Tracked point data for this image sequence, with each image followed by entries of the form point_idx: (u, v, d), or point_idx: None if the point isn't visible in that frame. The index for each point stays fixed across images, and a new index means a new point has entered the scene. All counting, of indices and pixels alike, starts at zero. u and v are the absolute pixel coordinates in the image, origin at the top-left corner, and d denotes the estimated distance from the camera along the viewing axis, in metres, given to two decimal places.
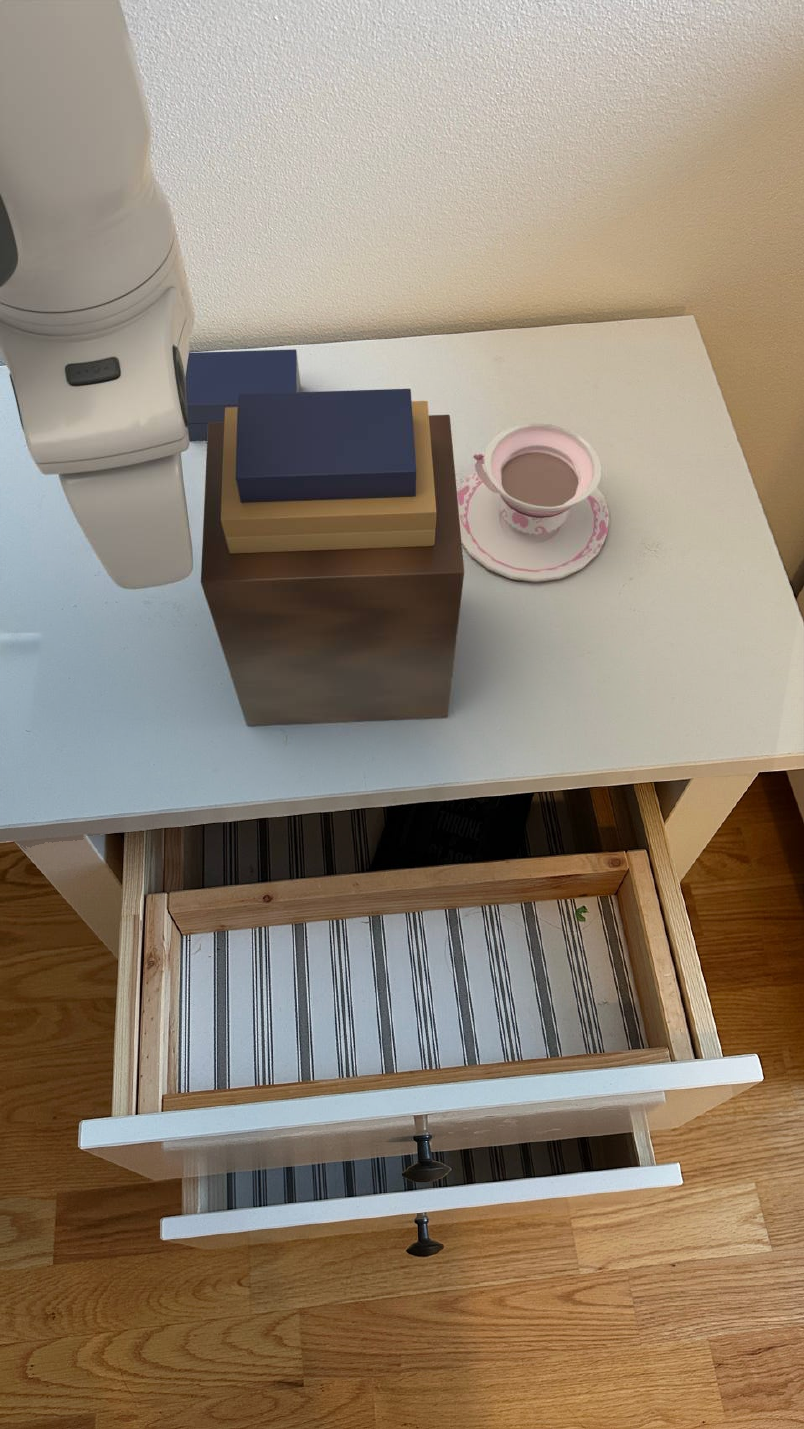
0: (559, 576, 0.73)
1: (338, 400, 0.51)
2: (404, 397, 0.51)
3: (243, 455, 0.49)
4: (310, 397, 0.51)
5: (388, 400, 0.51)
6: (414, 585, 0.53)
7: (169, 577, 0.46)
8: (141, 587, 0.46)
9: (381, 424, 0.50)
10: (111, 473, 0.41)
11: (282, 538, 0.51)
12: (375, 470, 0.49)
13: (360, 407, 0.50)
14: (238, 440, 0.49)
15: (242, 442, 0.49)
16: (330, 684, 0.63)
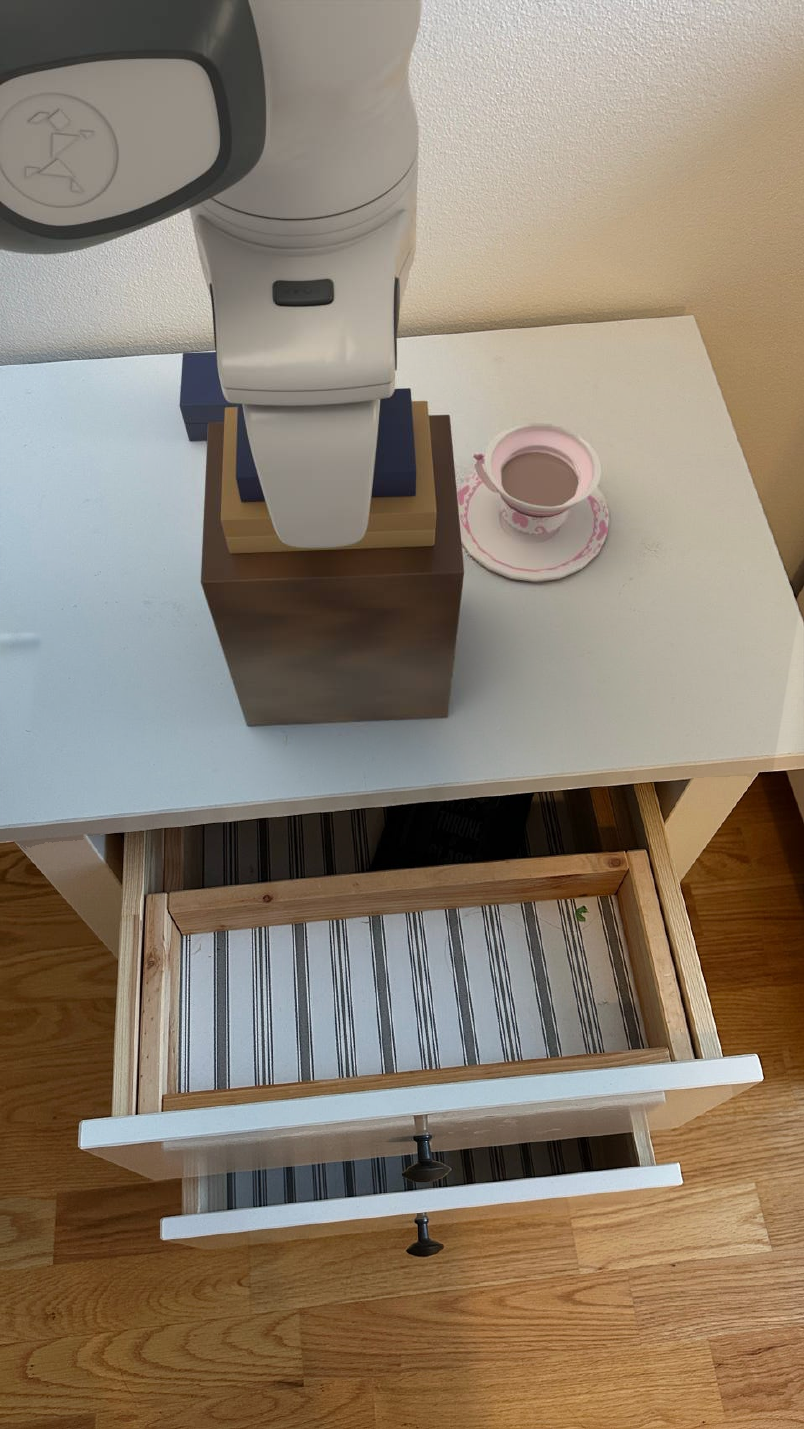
0: (559, 576, 0.73)
1: None
2: (404, 397, 0.51)
3: (243, 455, 0.49)
4: None
5: (388, 400, 0.51)
6: (414, 585, 0.53)
7: (338, 539, 0.41)
8: (306, 546, 0.41)
9: (381, 423, 0.50)
10: (301, 412, 0.37)
11: None
12: (375, 470, 0.49)
13: None
14: (238, 440, 0.49)
15: (242, 442, 0.49)
16: (330, 684, 0.63)
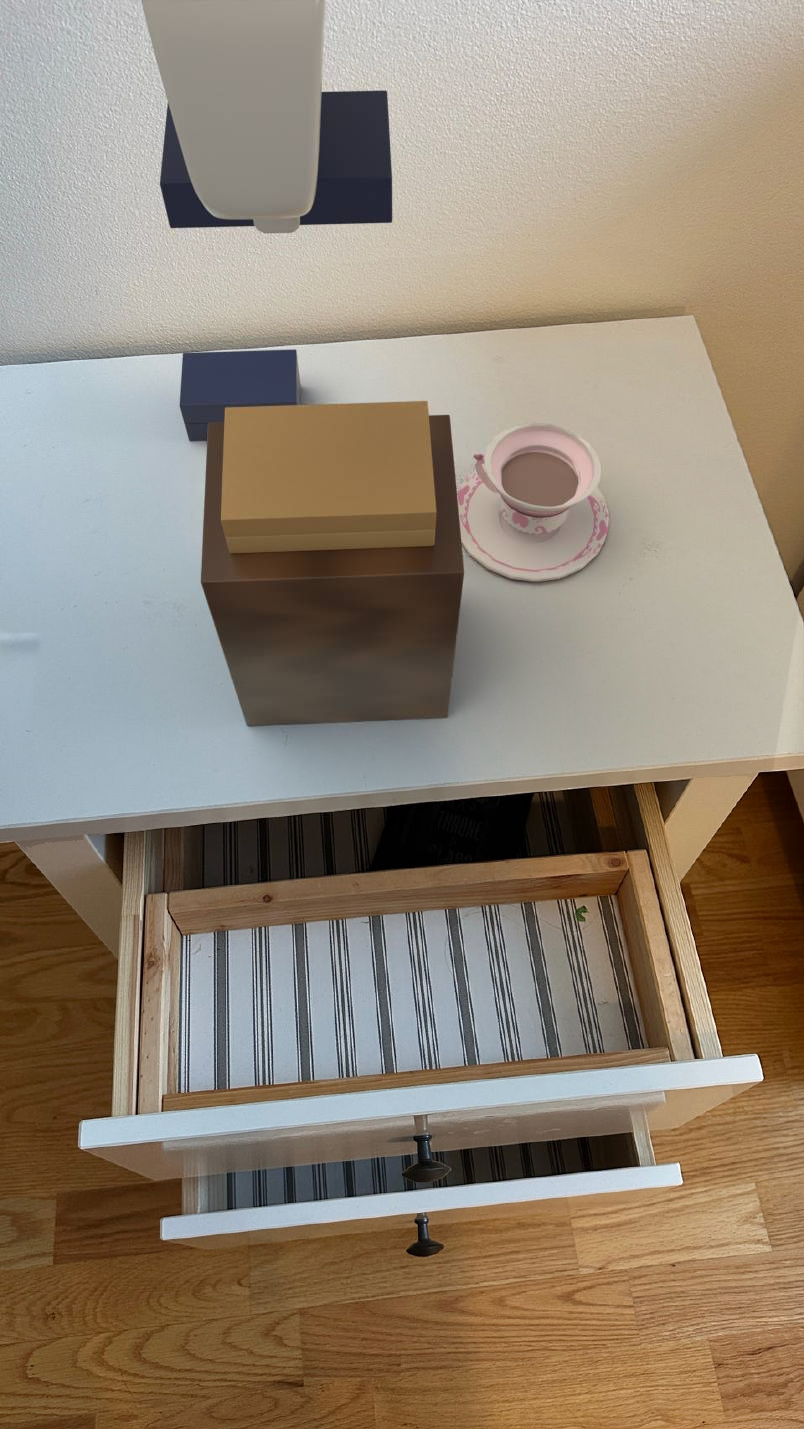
0: (559, 576, 0.73)
1: None
2: (379, 100, 0.40)
3: (170, 159, 0.38)
4: None
5: (358, 102, 0.40)
6: (414, 585, 0.53)
7: (278, 197, 0.30)
8: (234, 209, 0.31)
9: (349, 127, 0.39)
10: None
11: (282, 538, 0.51)
12: (339, 176, 0.38)
13: (322, 109, 0.40)
14: (166, 143, 0.39)
15: (171, 145, 0.39)
16: (330, 684, 0.63)
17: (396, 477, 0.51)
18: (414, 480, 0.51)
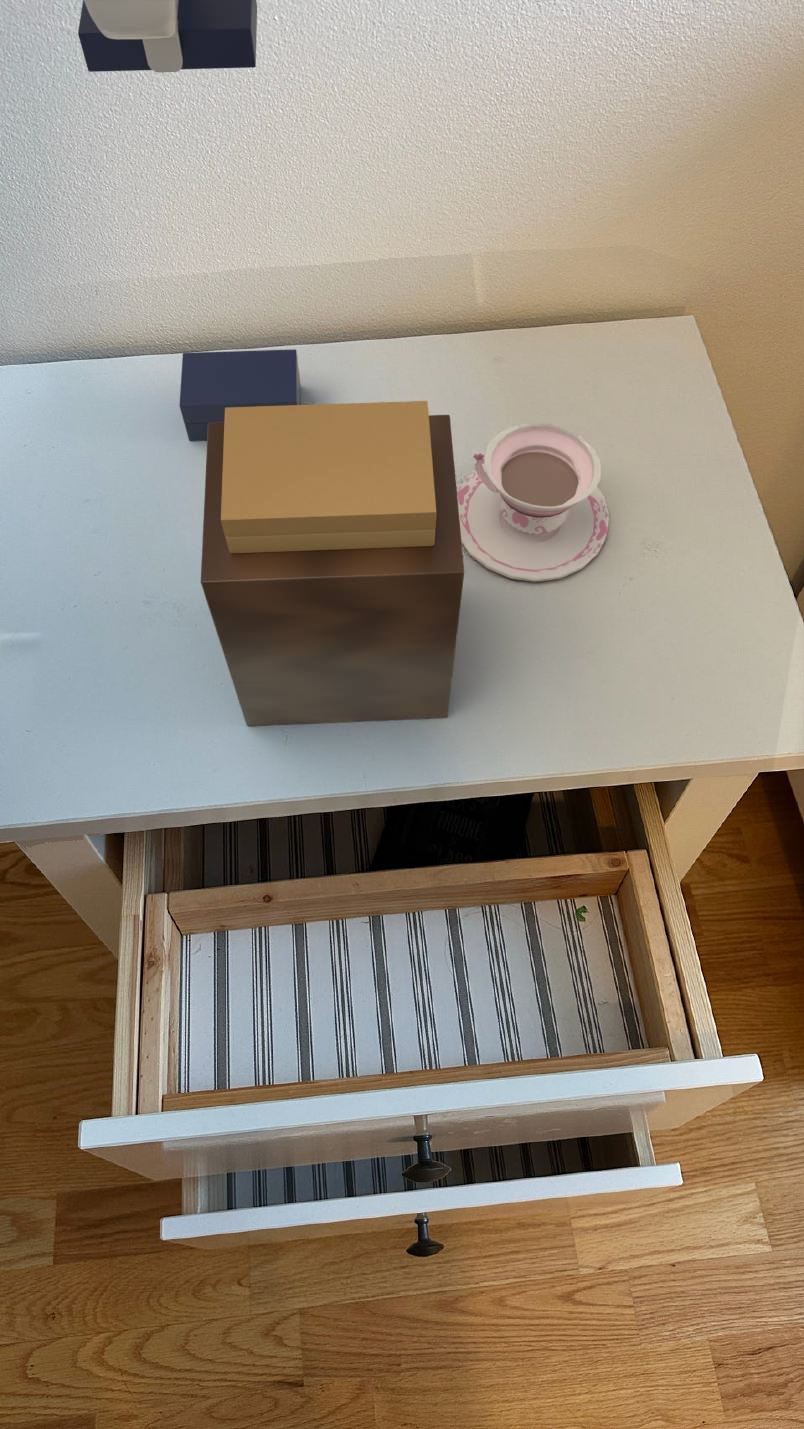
0: (559, 576, 0.73)
1: None
2: None
3: (86, 17, 0.51)
4: None
5: None
6: (414, 585, 0.53)
7: (147, 18, 0.44)
8: (118, 28, 0.44)
9: None
10: None
11: (282, 538, 0.51)
12: (212, 28, 0.51)
13: None
14: (84, 6, 0.52)
15: None
16: (330, 684, 0.63)
17: (396, 477, 0.51)
18: (414, 480, 0.51)
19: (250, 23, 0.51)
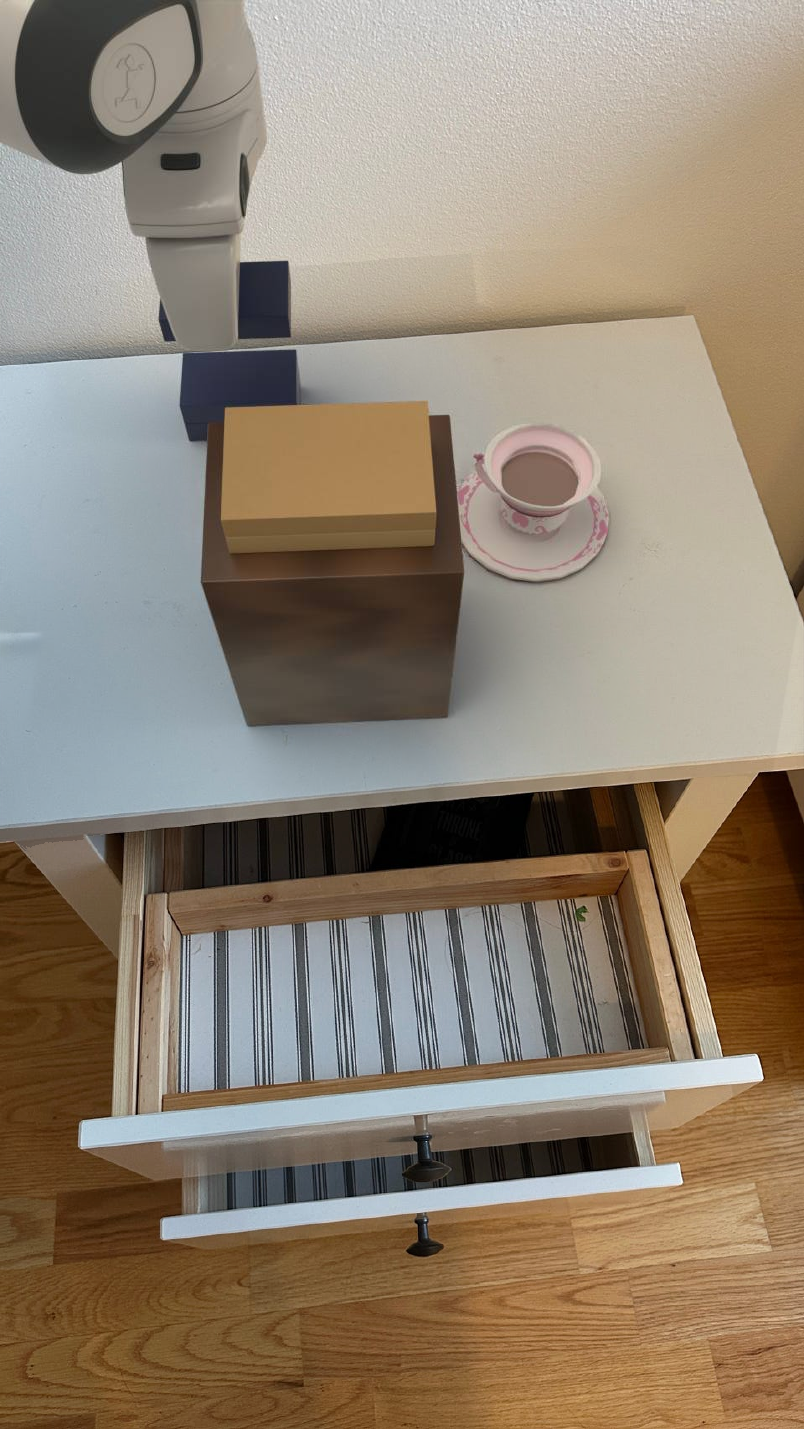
0: (559, 576, 0.73)
1: None
2: (283, 266, 0.70)
3: None
4: None
5: (271, 268, 0.70)
6: (414, 585, 0.53)
7: (217, 343, 0.60)
8: (196, 348, 0.61)
9: (265, 284, 0.69)
10: (183, 244, 0.56)
11: (282, 538, 0.51)
12: (259, 315, 0.68)
13: (251, 273, 0.70)
14: None
15: None
16: (330, 684, 0.63)
17: (396, 477, 0.51)
18: (414, 480, 0.51)
19: (287, 310, 0.68)
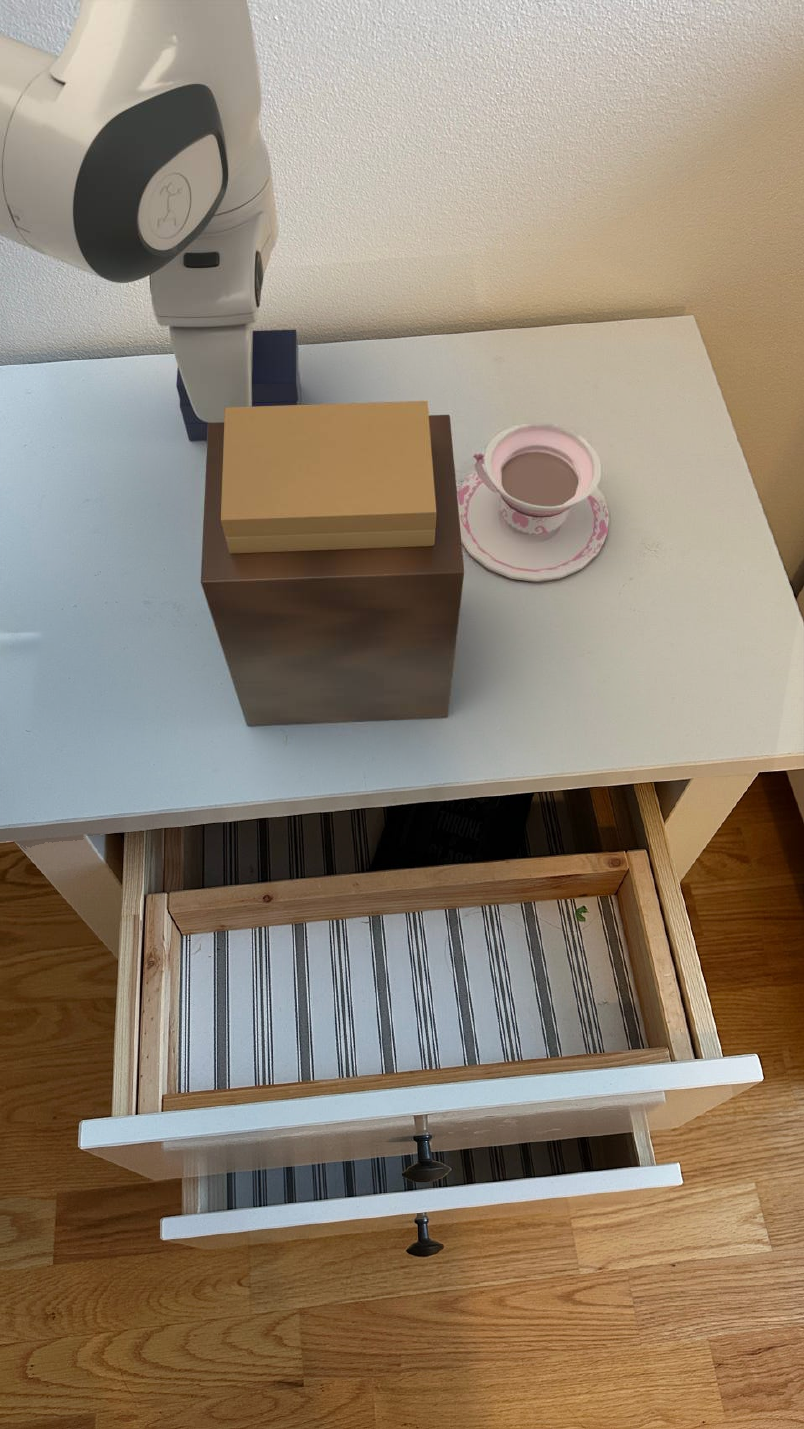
0: (559, 576, 0.73)
1: None
2: (291, 335, 0.76)
3: None
4: None
5: (280, 337, 0.76)
6: (414, 585, 0.53)
7: None
8: (213, 421, 0.67)
9: (275, 352, 0.75)
10: (203, 331, 0.62)
11: (282, 538, 0.51)
12: (269, 382, 0.74)
13: (261, 341, 0.75)
14: None
15: None
16: (330, 684, 0.63)
17: (396, 477, 0.51)
18: (414, 480, 0.51)
19: (295, 377, 0.74)
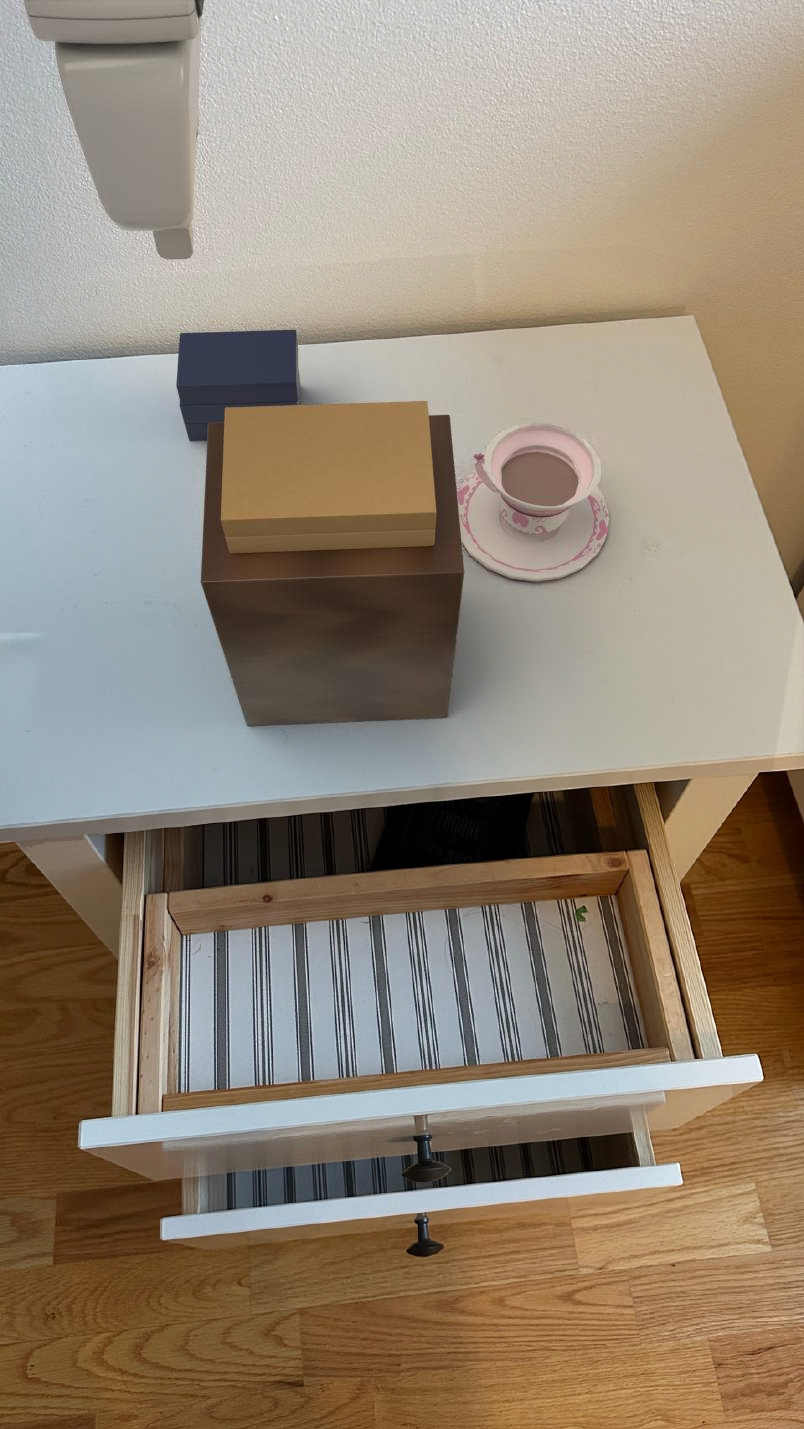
0: (559, 576, 0.73)
1: (247, 337, 0.76)
2: (291, 335, 0.76)
3: (181, 372, 0.74)
4: (228, 335, 0.76)
5: (280, 337, 0.76)
6: (414, 585, 0.53)
7: (164, 215, 0.43)
8: (134, 224, 0.43)
9: (275, 352, 0.75)
10: (110, 54, 0.38)
11: (282, 538, 0.51)
12: (269, 381, 0.74)
13: (261, 341, 0.75)
14: (179, 362, 0.74)
15: (181, 364, 0.74)
16: (330, 684, 0.63)
17: (396, 477, 0.51)
18: (414, 480, 0.51)
19: (295, 377, 0.74)
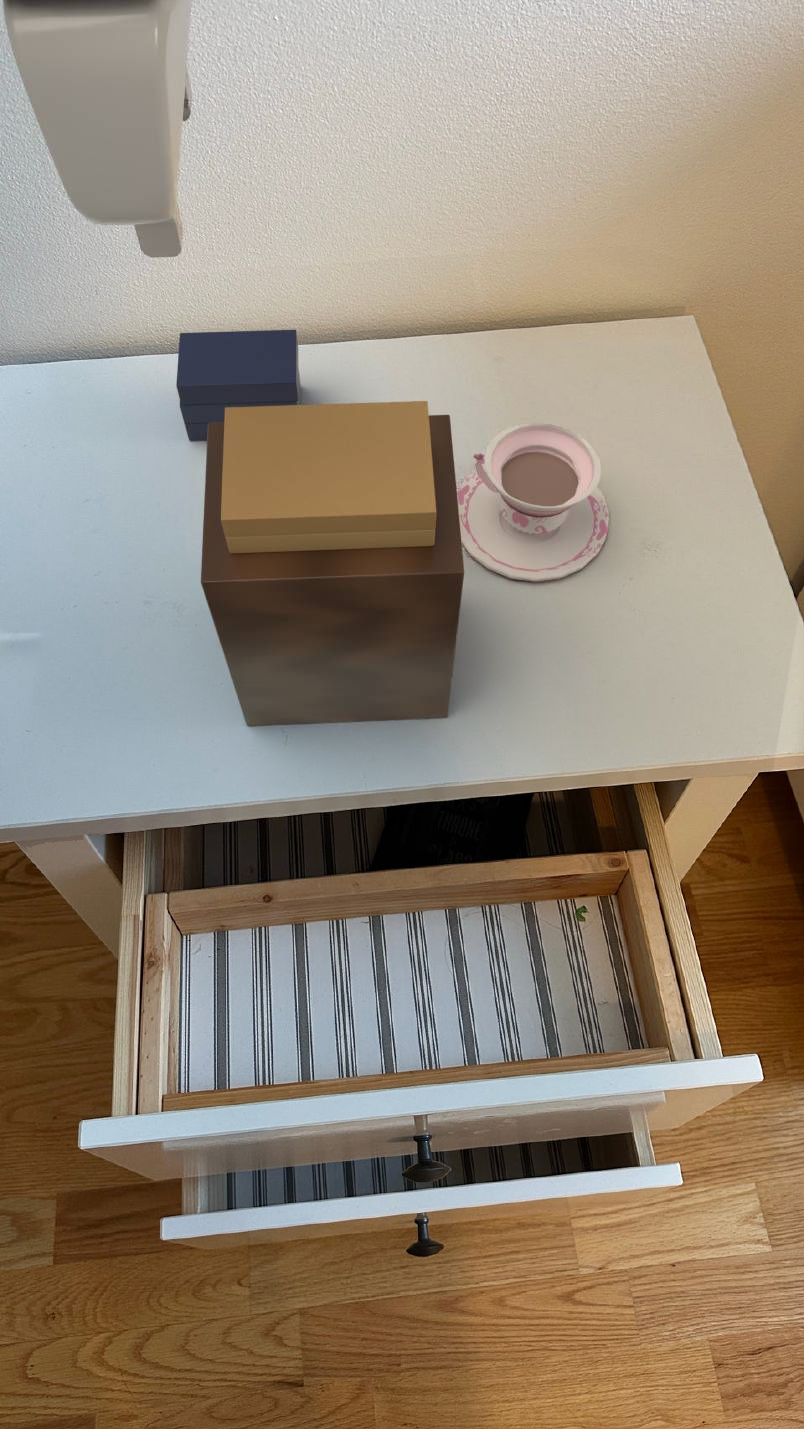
0: (559, 576, 0.73)
1: (247, 337, 0.76)
2: (291, 335, 0.76)
3: (181, 372, 0.74)
4: (228, 335, 0.76)
5: (280, 337, 0.76)
6: (414, 585, 0.53)
7: (141, 206, 0.36)
8: (105, 217, 0.36)
9: (275, 352, 0.75)
10: (69, 11, 0.32)
11: (282, 538, 0.51)
12: (269, 381, 0.74)
13: (261, 341, 0.75)
14: (179, 362, 0.74)
15: (182, 364, 0.74)
16: (330, 684, 0.63)
17: (396, 477, 0.51)
18: (414, 480, 0.51)
19: (295, 377, 0.74)
